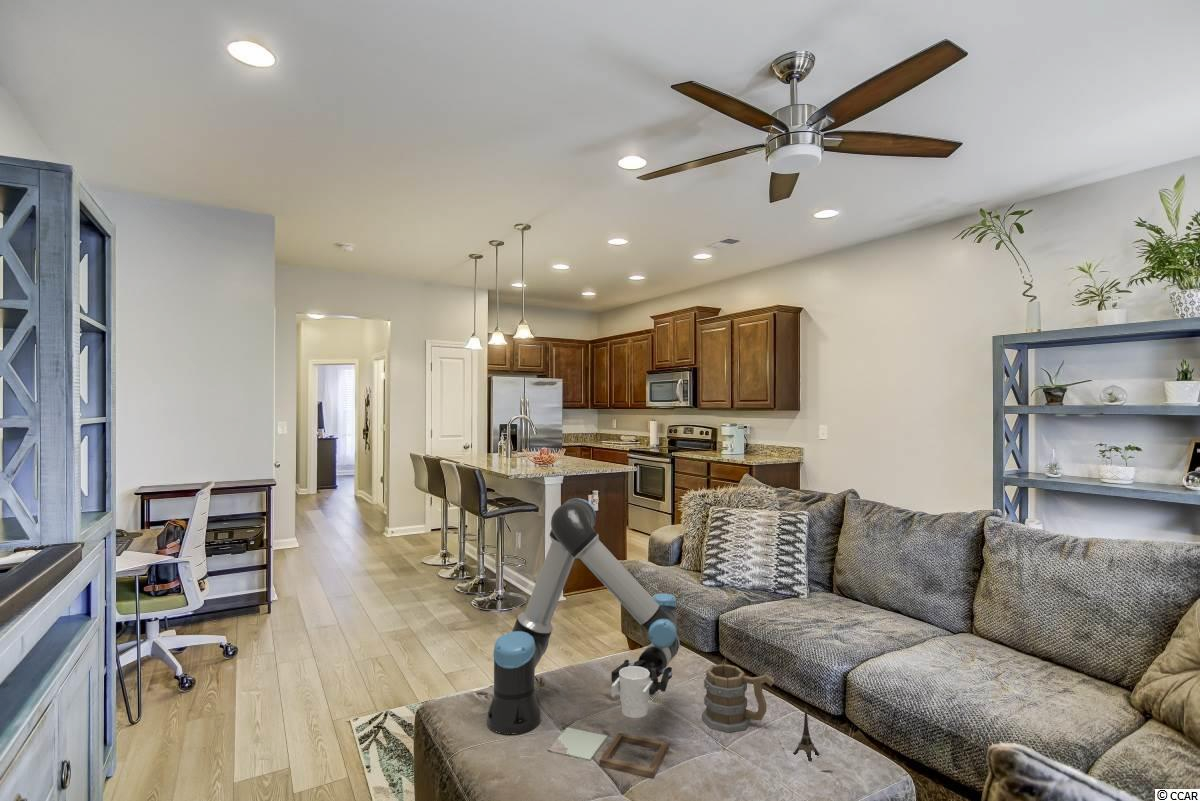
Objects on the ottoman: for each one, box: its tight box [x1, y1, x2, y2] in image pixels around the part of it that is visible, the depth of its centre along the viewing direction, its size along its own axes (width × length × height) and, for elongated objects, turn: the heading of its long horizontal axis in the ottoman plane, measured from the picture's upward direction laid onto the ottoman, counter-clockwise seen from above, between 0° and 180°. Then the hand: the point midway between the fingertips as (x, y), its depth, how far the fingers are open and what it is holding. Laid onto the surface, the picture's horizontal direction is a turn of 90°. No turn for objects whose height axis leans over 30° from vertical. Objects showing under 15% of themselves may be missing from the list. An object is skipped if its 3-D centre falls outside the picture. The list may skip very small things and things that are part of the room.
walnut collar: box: [598, 731, 670, 779], centre depth 149 cm, size 14×14×2 cm
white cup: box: [619, 666, 650, 719], centre depth 150 cm, size 8×8×10 cm
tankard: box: [701, 663, 775, 733], centre depth 166 cm, size 20×13×15 cm, turn 62°
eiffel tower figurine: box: [793, 707, 833, 773], centre depth 151 cm, size 15×10×13 cm
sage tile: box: [556, 727, 608, 762], centre depth 155 cm, size 12×12×1 cm
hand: (628, 694), depth 146 cm, fingers closed on white cup, 7 cm apart
